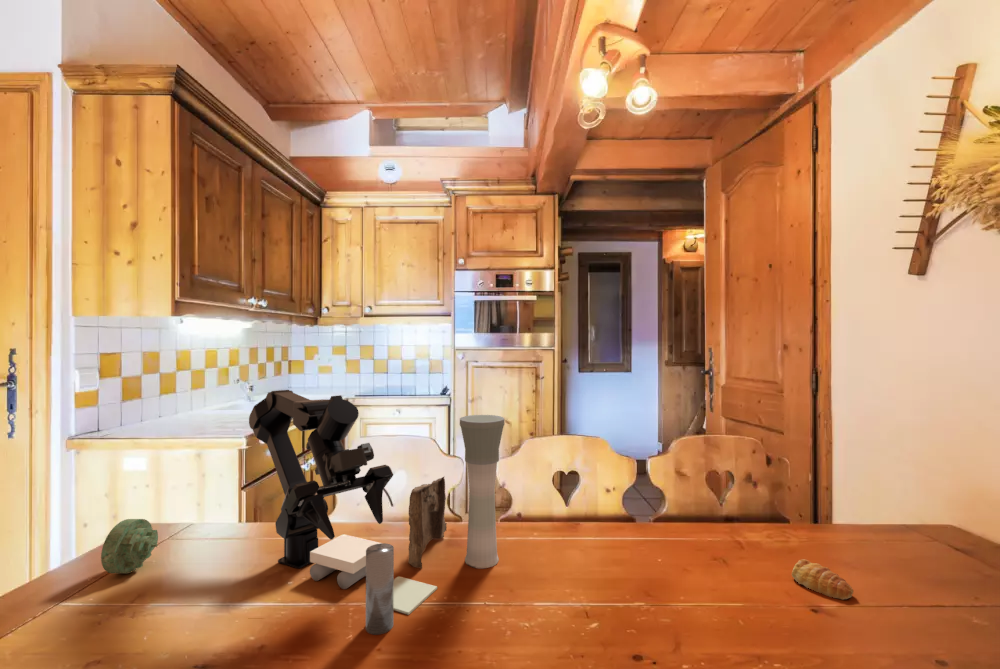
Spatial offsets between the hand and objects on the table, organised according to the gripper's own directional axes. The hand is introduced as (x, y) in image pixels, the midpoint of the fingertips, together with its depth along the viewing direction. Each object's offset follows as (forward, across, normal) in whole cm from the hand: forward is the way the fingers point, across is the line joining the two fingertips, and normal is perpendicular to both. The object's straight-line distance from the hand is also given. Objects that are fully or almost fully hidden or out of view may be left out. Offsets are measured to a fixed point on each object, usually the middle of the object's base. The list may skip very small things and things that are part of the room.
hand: (357, 530), depth 81 cm
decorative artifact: (-20, -25, +40) cm, 51 cm away
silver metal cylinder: (+15, 0, +4) cm, 15 cm away
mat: (+12, +8, +7) cm, 16 cm away
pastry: (+49, +65, -31) cm, 88 cm away
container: (+12, +27, +7) cm, 30 cm away
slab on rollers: (+1, +4, +18) cm, 18 cm away
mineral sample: (+4, +22, +16) cm, 27 cm away
